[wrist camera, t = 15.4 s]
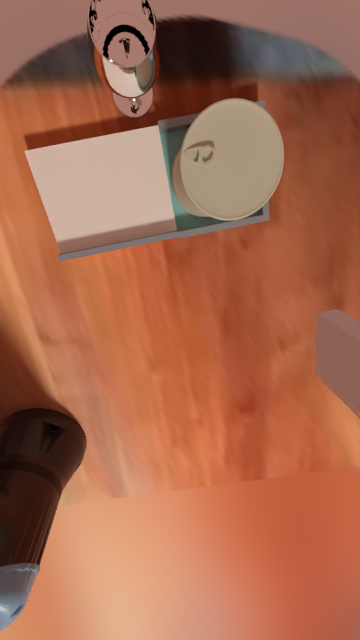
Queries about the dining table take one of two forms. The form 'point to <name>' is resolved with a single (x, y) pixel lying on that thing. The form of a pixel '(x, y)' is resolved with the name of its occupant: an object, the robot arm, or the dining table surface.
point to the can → (228, 161)
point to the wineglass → (125, 51)
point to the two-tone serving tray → (119, 190)
